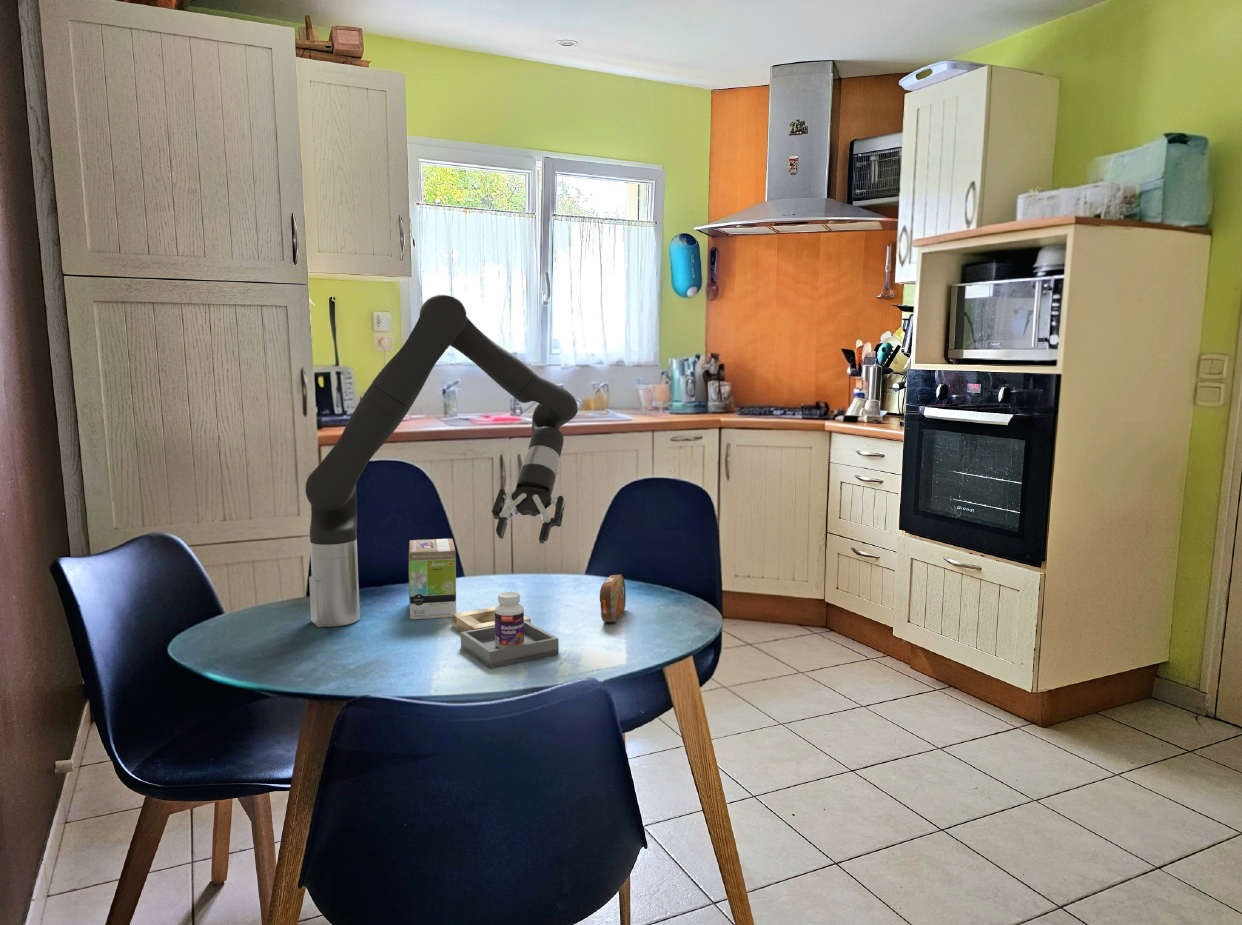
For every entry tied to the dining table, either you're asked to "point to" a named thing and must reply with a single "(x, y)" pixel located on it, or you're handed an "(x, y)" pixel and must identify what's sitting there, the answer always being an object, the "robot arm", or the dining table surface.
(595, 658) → the dining table surface
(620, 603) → the tin
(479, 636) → the charcoal tray
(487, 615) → the oak collar
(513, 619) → the pill bottle
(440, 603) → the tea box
